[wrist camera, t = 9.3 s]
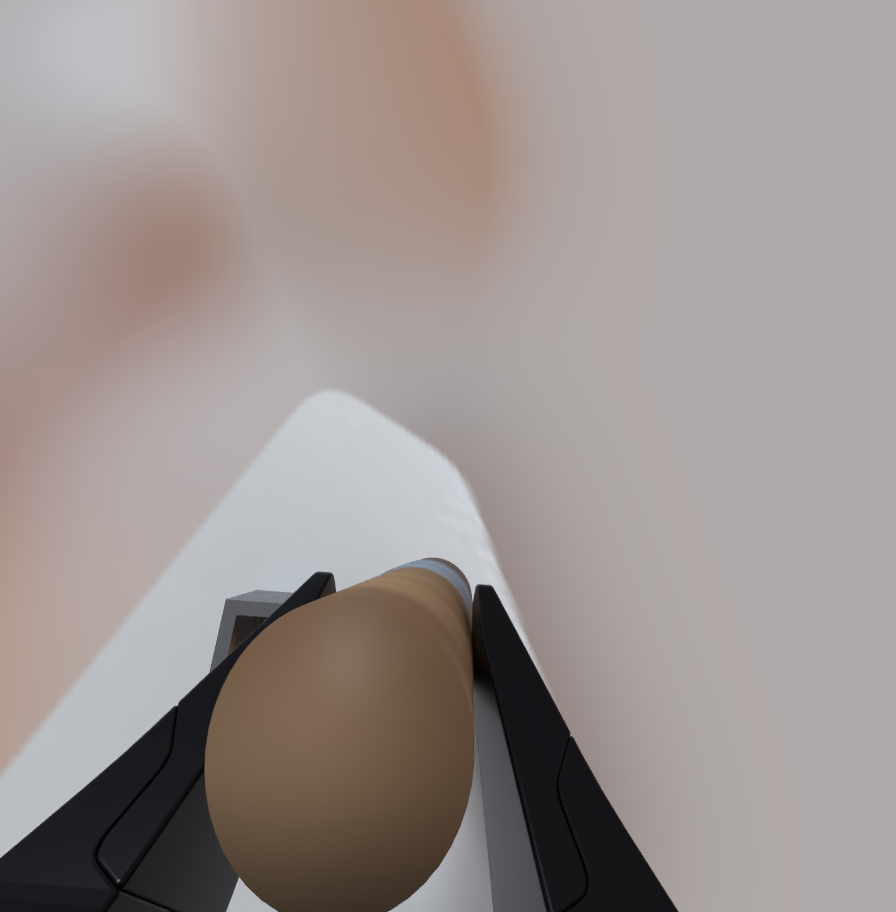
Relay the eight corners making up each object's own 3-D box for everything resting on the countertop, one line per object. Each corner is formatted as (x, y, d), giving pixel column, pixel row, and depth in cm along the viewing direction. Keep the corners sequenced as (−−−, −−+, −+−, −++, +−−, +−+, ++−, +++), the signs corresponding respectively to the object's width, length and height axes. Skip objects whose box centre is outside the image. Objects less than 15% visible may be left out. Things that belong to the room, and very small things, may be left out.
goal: (300, 737, 18) (273, 775, 15) (227, 732, 18) (187, 769, 15) (322, 595, 20) (302, 605, 17) (257, 590, 20) (225, 599, 17)
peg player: (471, 647, 14) (471, 957, 4) (388, 640, 15) (167, 904, 4) (474, 559, 15) (483, 603, 5) (396, 553, 16) (235, 583, 5)
